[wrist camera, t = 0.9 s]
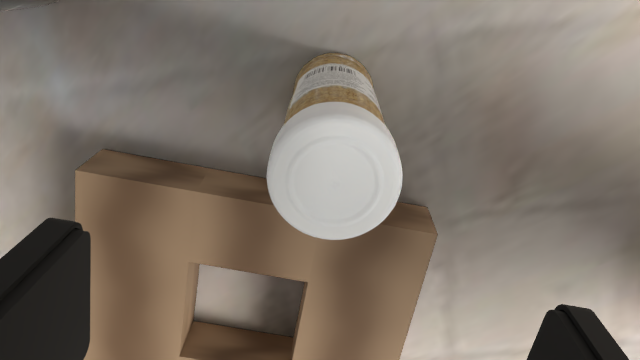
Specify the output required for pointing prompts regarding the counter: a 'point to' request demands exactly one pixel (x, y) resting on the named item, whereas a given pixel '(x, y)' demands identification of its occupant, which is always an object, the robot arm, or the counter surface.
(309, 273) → the spice holder
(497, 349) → the counter surface
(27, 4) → the supplement bottle
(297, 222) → the sprinkles bottle
